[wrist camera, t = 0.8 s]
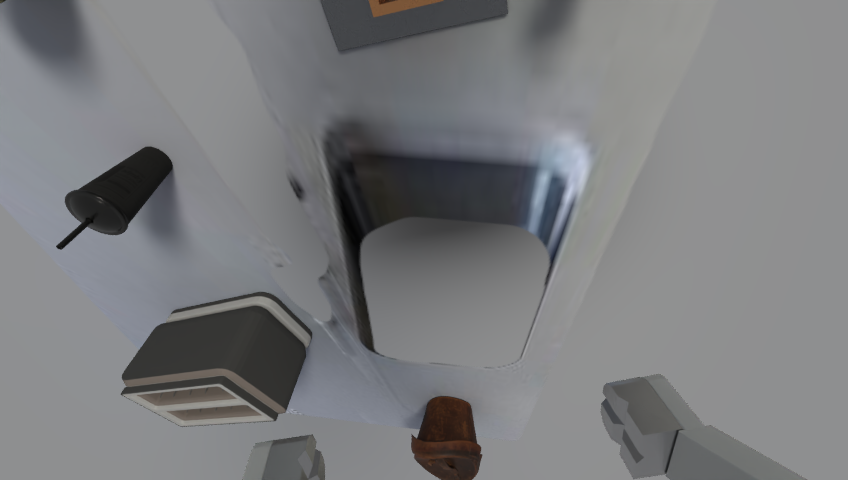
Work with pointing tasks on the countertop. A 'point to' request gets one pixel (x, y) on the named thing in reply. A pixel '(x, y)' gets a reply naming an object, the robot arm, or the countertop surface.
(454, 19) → the grey base plate
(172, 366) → the toaster
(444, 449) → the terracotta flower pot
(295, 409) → the countertop surface
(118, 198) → the drinking cup
